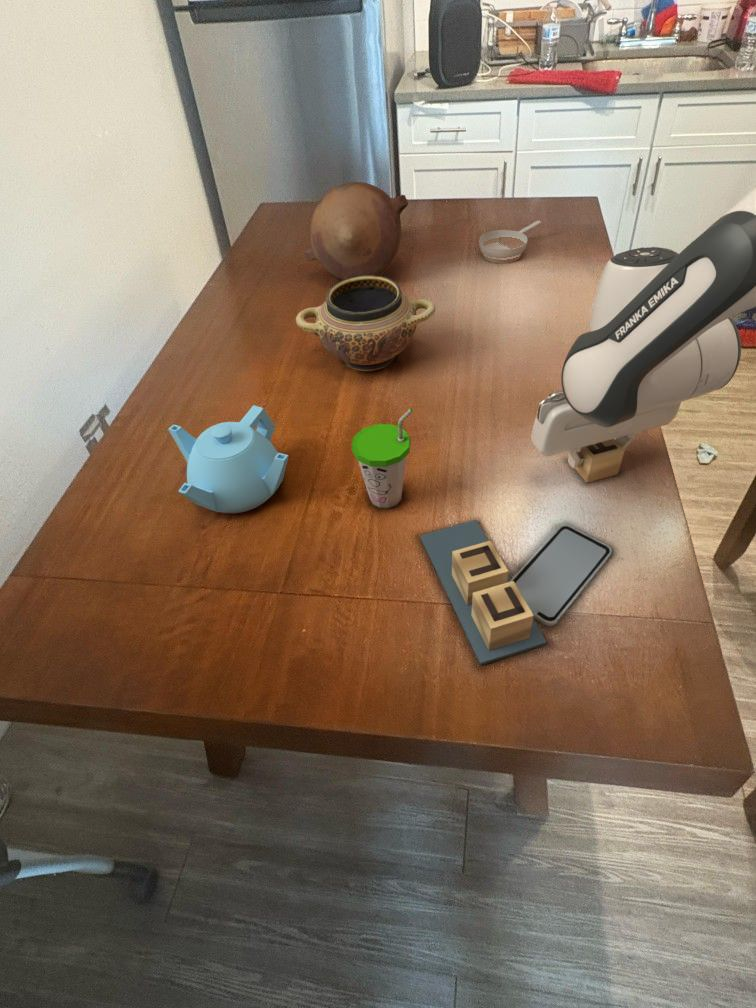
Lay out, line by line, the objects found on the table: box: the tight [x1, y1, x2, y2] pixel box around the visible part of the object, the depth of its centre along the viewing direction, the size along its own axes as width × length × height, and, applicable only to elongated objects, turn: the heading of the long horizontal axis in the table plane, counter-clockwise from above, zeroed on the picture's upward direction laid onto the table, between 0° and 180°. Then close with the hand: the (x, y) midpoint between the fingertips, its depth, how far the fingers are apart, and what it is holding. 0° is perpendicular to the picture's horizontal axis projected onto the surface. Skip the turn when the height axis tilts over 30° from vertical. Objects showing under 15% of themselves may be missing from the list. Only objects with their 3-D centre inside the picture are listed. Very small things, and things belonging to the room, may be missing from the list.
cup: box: [351, 407, 414, 509], centre depth 81 cm, size 8×8×15 cm
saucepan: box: [478, 220, 542, 264], centre depth 139 cm, size 11×18×4 cm, turn 130°
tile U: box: [452, 540, 509, 605], centre depth 72 cm, size 5×5×5 cm
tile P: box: [574, 439, 626, 484], centre depth 86 cm, size 5×5×5 cm
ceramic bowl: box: [295, 275, 436, 372], centre depth 108 cm, size 24×18×15 cm
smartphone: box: [510, 524, 613, 627], centre depth 75 cm, size 7×1×15 cm
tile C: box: [471, 581, 534, 650], centre depth 68 cm, size 5×5×5 cm
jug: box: [304, 181, 409, 281], centre depth 133 cm, size 20×20×30 cm
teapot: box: [168, 404, 289, 514], centre depth 87 cm, size 15×15×11 cm
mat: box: [419, 519, 547, 666], centre depth 74 cm, size 20×8×1 cm, turn 17°
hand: (595, 459), depth 87 cm, fingers closed on tile P, 5 cm apart
